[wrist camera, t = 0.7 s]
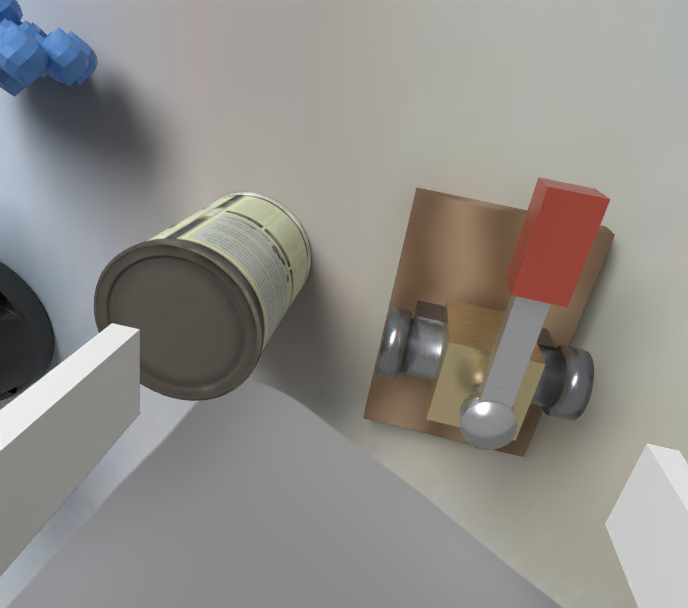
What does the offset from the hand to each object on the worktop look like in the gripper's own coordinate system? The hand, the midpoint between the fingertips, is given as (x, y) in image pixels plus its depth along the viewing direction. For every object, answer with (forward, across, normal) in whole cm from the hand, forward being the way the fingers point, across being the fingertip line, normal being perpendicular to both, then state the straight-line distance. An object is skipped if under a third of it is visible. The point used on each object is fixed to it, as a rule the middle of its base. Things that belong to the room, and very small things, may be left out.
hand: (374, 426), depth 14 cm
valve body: (+26, +7, -9) cm, 29 cm away
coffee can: (+29, -12, -7) cm, 32 cm away
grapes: (+29, -28, +6) cm, 40 cm away
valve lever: (+16, +7, -3) cm, 18 cm away
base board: (+28, +7, -9) cm, 31 cm away
